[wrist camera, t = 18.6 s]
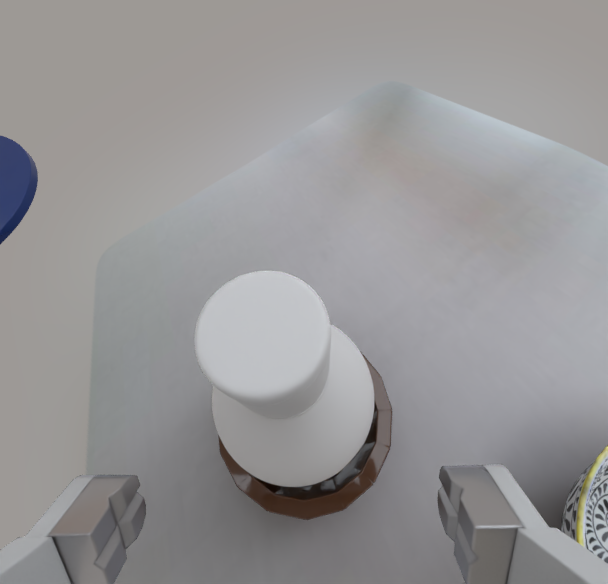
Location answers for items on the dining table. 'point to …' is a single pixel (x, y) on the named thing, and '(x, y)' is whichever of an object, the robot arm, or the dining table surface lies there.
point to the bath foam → (283, 380)
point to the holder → (337, 488)
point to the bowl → (589, 508)
